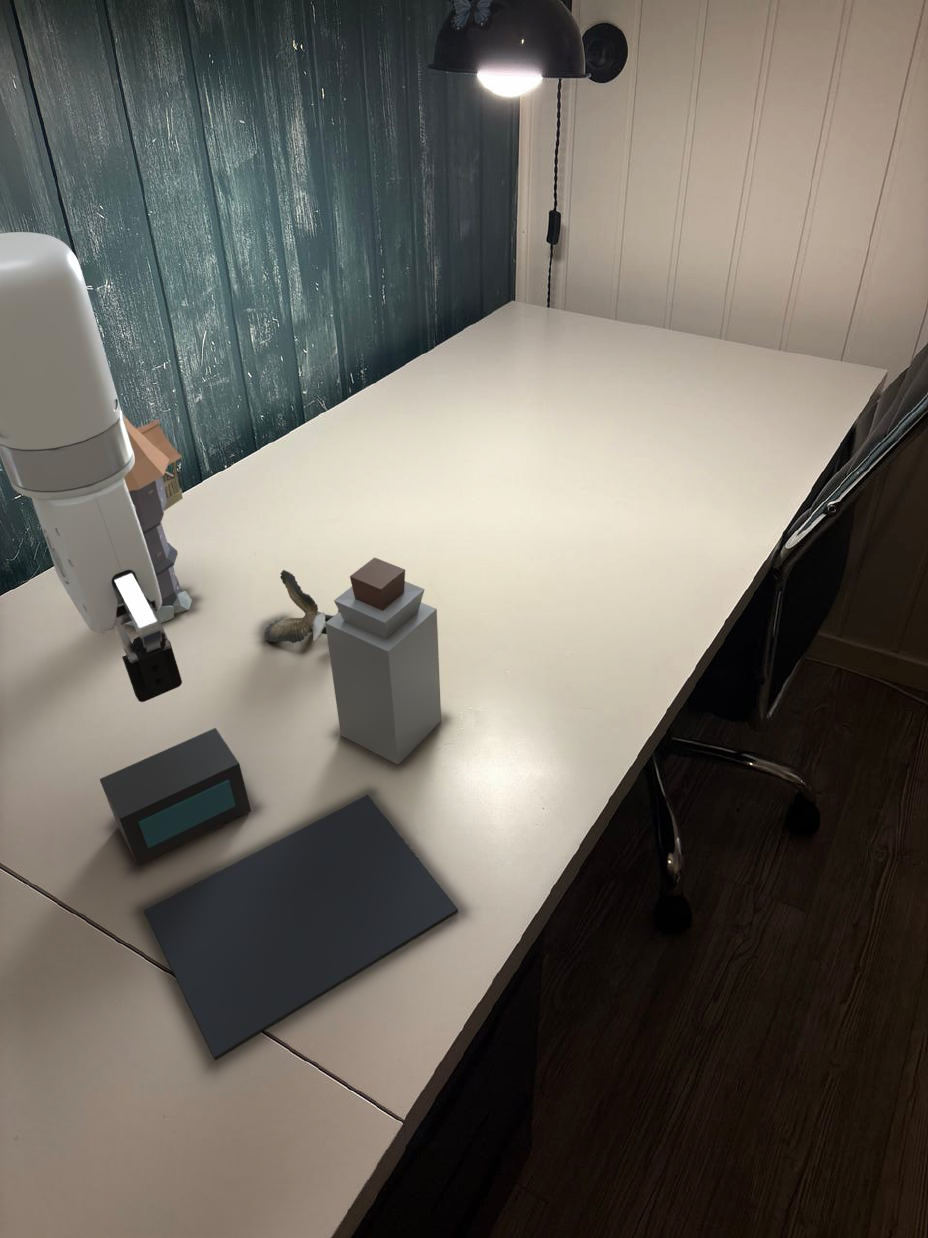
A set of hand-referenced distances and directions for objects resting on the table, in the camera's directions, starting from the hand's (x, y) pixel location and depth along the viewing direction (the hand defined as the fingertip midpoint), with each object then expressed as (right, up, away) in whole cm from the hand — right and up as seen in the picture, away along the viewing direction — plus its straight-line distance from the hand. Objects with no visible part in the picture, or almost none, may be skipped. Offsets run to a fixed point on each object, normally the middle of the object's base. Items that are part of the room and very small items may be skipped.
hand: (136, 655), depth 68 cm
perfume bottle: (+17, -8, +19) cm, 27 cm away
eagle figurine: (+8, +1, +30) cm, 31 cm away
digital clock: (0, -14, +11) cm, 18 cm away
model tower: (-10, +5, +35) cm, 36 cm away
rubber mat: (+12, -20, +3) cm, 23 cm away
